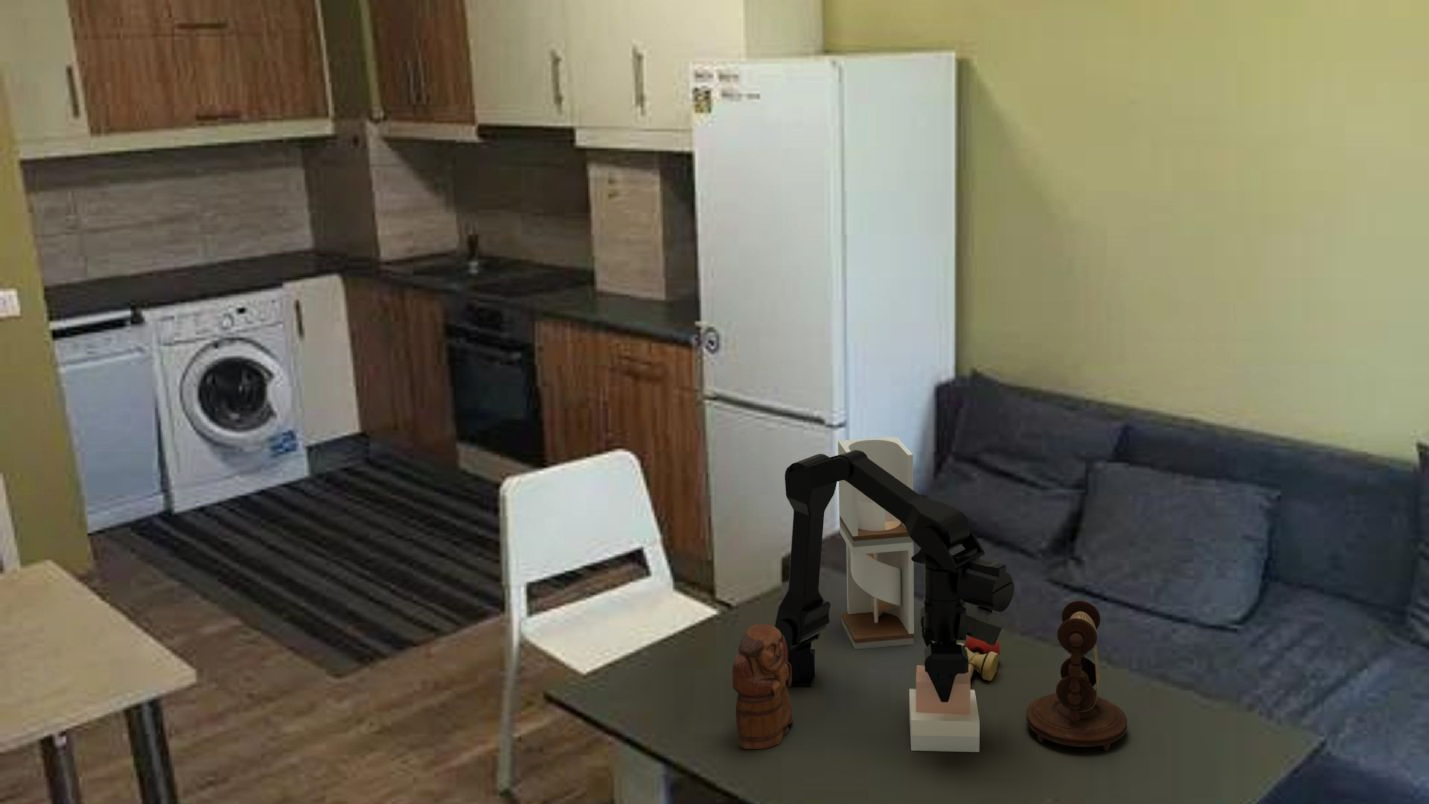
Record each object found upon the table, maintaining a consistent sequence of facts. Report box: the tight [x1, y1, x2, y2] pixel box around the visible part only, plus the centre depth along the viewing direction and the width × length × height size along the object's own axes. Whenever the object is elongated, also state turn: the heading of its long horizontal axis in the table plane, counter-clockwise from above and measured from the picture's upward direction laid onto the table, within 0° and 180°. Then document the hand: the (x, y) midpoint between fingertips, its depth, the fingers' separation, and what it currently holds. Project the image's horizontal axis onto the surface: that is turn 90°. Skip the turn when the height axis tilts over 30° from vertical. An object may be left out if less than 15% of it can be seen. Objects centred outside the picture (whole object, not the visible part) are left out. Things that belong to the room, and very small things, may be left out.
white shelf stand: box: [837, 436, 915, 650], centre depth 228 cm, size 11×11×35 cm
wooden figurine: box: [732, 623, 793, 750], centre depth 197 cm, size 12×6×18 cm, turn 154°
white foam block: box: [908, 688, 981, 753], centre depth 196 cm, size 10×10×5 cm
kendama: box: [957, 636, 1001, 682], centre depth 213 cm, size 8×6×18 cm
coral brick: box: [915, 664, 971, 715], centre depth 195 cm, size 8×6×5 cm
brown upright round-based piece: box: [1025, 600, 1128, 752], centre depth 193 cm, size 15×15×20 cm
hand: (943, 689), depth 195 cm, fingers open, 7 cm apart
